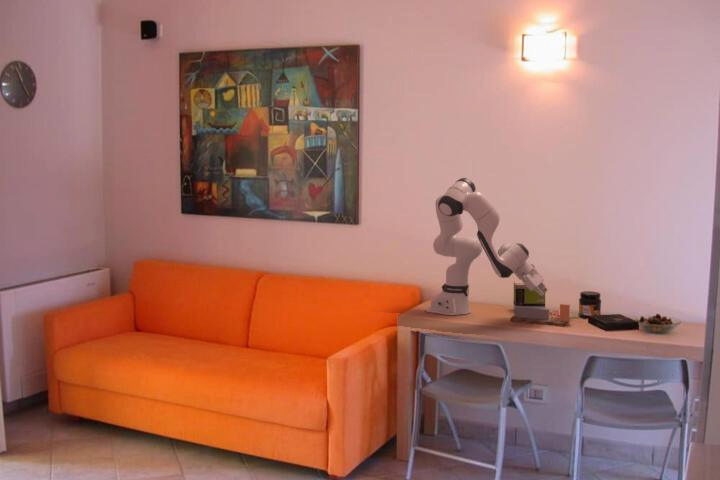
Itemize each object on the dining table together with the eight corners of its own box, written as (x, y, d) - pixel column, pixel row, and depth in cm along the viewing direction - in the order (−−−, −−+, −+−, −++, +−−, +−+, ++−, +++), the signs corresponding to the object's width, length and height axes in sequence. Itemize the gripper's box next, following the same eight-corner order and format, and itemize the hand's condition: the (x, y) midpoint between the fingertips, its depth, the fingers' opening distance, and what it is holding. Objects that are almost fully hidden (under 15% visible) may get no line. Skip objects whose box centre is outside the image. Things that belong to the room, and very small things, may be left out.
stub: (559, 320, 367) (560, 304, 366) (560, 319, 370) (561, 303, 369) (568, 321, 366) (568, 305, 365) (569, 320, 368) (569, 304, 367)
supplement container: (584, 319, 377) (585, 295, 375) (574, 315, 387) (575, 291, 386) (604, 318, 379) (605, 294, 378) (593, 314, 389) (594, 290, 388)
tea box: (542, 309, 400) (543, 281, 398) (545, 313, 390) (546, 284, 388) (512, 309, 401) (513, 280, 400) (514, 313, 391) (515, 284, 390)
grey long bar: (514, 316, 376) (514, 306, 376) (515, 315, 379) (516, 305, 378) (547, 320, 370) (548, 309, 369) (548, 318, 372) (549, 308, 371)
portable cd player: (639, 330, 358) (639, 321, 357) (605, 331, 355) (605, 323, 354) (620, 322, 374) (620, 314, 373) (587, 323, 371) (588, 315, 370)
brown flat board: (510, 321, 374) (510, 318, 373) (515, 317, 383) (515, 313, 382) (565, 326, 363) (565, 323, 362) (569, 322, 372) (569, 318, 371)
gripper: (525, 270, 363) (545, 292, 361) (533, 264, 382) (553, 285, 379) (515, 279, 366) (535, 301, 363) (524, 272, 384) (543, 293, 382)
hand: (544, 293), depth 371 cm, fingers open, 8 cm apart
